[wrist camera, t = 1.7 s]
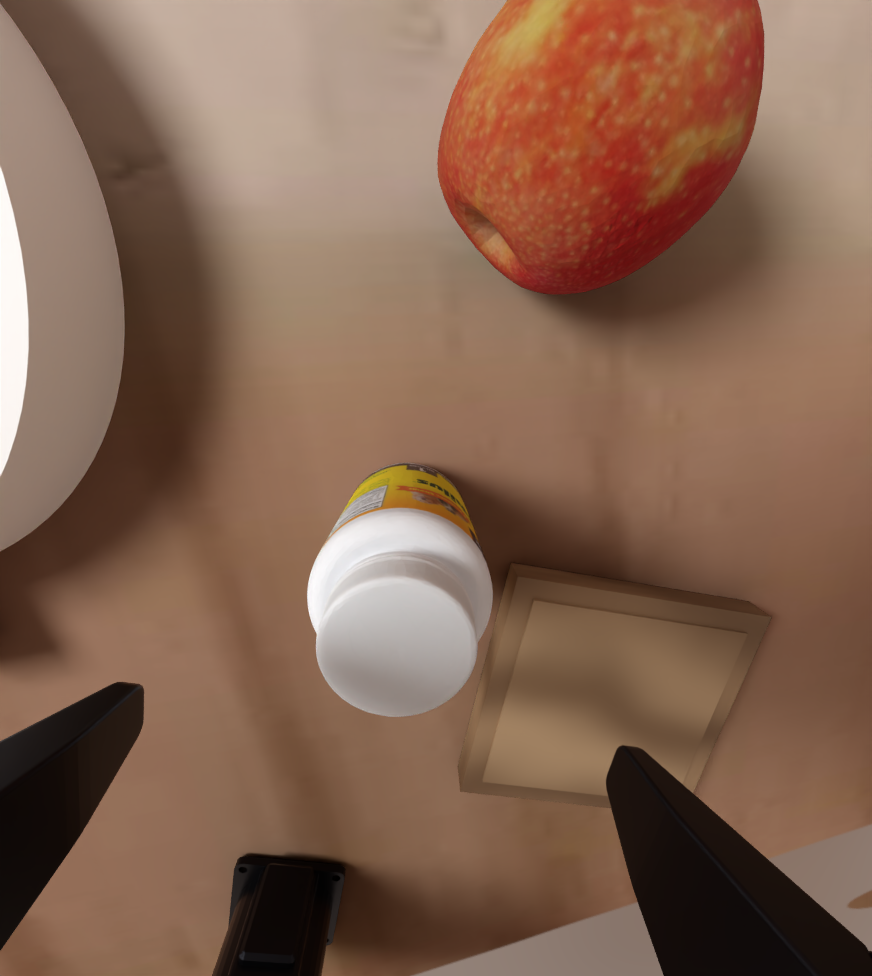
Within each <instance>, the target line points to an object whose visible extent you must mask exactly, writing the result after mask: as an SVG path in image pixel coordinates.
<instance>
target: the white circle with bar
mask: <svg viewBox="0 0 872 976" xmlns="http://www.w3.org/2000/svg"><path fill="white" fill-rule="evenodd" d="M124 337H125V322H124V299H123V287H122V278H121V272H120V265H119V259H118V253H117V248H116V244H115V239H114V234H113V230H112V226H111V222H110V219H109V215H108V211H107V208H106V204H105V201H104V198H103V195H102V192H101V189H100V186H99V183H98V180H97V177H96V174H95V171H94V169H93V166H92V164H91V161H90V159H89V156H88V154H87V151H86V149H85V147H84V144H83V142H82V139H81V137H80V135H79V133H78V131H77V129H76V127H75V125H74V122H73V120H72V118H71V116H70V114H69V112H68V110H67V108H66V106H65V104H64V102H63V101H62V99H61V97H60V95H59V93H58V91H57V89H56V88H55V86H54V84H53V82H52V80H51V79H50V77H49V75H48V74H47V72H46V70H45V69H44V67H43V65H42V64H41V62H40V60H39V59H38V57H37V55H36V54H35V52H34V51H33V49H32V48H31V46H30V45H29V43H28V42H27V40H26V39H25V37H24V36H23V34H22V33H21V31H20V30H19V28H18V27H17V26H16V24H15V23H14V21H13V20H12V18H11V17H10V16H9V14H8V13H7V12H6V10H5V9H4V8H3V6H2V5H1V4H0V551H2V550H4V549H6V548H7V547H9V546H11V545H13V544H14V543H16V542H18V541H19V540H21V539H22V538H23V537H25V536H26V535H28V534H29V533H31V532H32V531H33V530H35V529H36V528H37V527H38V526H39V525H41V524H42V523H43V522H44V521H46V520H47V519H48V518H49V517H50V516H51V515H52V514H53V513H54V512H55V511H56V510H57V509H58V508H59V507H60V506H61V505H62V504H63V503H64V501H65V500H66V499H67V498H68V497H69V496H70V494H71V493H72V492H73V491H74V489H75V488H76V487H77V485H78V484H79V482H80V481H81V480H82V478H83V477H84V475H85V473H86V472H87V470H88V468H89V467H90V465H91V463H92V462H93V460H94V458H95V456H96V454H97V452H98V450H99V448H100V446H101V444H102V441H103V439H104V436H105V434H106V431H107V428H108V426H109V423H110V420H111V417H112V413H113V410H114V406H115V403H116V399H117V394H118V389H119V384H120V379H121V372H122V364H123V355H124Z"/></svg>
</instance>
